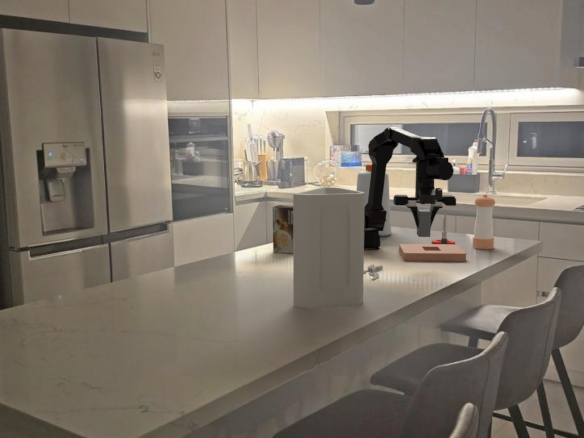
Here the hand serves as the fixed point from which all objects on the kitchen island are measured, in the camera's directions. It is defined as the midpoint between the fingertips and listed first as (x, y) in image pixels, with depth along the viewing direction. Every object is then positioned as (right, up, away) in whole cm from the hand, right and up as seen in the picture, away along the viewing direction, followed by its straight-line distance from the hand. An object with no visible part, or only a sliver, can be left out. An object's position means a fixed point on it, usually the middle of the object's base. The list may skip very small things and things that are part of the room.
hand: (423, 227), depth 208 cm
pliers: (-19, -14, -9) cm, 25 cm away
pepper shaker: (+28, -8, +31) cm, 42 cm away
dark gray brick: (0, -3, 0) cm, 3 cm away
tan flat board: (+6, -10, +16) cm, 20 cm away
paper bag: (-31, -18, -38) cm, 52 cm away
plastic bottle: (-9, -3, +61) cm, 62 cm away
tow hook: (+15, -7, +39) cm, 42 cm away
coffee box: (-43, -9, +24) cm, 50 cm away
